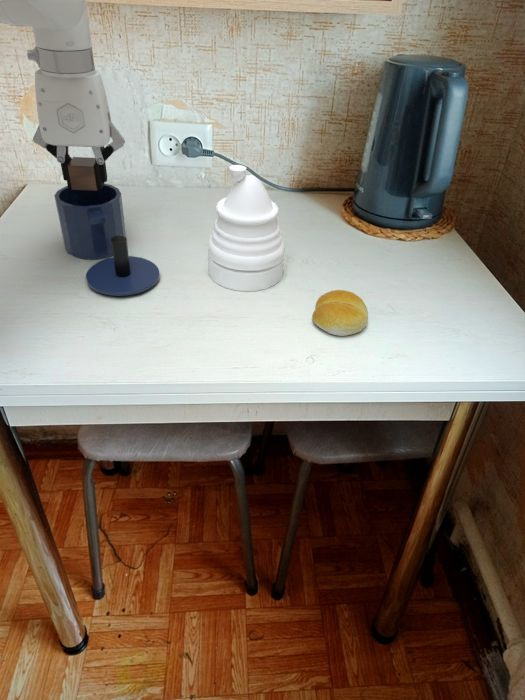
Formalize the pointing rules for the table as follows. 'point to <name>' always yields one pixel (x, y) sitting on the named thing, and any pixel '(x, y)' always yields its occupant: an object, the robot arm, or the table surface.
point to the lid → (122, 272)
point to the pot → (90, 220)
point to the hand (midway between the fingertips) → (86, 184)
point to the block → (82, 173)
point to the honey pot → (246, 237)
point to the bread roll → (340, 313)
